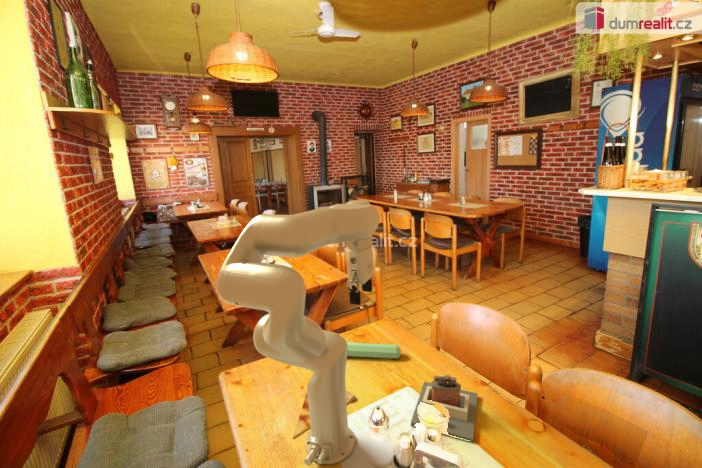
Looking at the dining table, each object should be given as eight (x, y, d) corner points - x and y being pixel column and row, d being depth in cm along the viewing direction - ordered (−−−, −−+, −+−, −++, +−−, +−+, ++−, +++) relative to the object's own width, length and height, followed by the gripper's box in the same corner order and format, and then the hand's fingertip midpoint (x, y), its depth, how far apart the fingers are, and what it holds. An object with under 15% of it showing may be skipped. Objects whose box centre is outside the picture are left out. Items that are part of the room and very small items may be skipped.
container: (401, 340, 125) (333, 336, 129) (401, 354, 120) (331, 350, 124) (400, 350, 129) (335, 346, 132) (400, 364, 124) (332, 360, 127)
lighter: (459, 404, 99) (460, 373, 97) (460, 412, 96) (461, 381, 93) (430, 401, 100) (430, 371, 98) (431, 410, 97) (431, 379, 95)
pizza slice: (266, 409, 103) (265, 403, 103) (326, 376, 117) (325, 371, 116) (293, 440, 91) (292, 433, 91) (356, 400, 105) (355, 394, 105)
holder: (472, 442, 87) (473, 429, 86) (410, 426, 94) (410, 412, 93) (477, 396, 103) (478, 384, 102) (424, 384, 110) (424, 373, 109)
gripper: (360, 252, 91) (362, 311, 95) (380, 236, 107) (382, 288, 110) (334, 250, 94) (338, 307, 98) (358, 235, 109) (360, 285, 113)
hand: (361, 297), depth 104 cm, fingers open, 9 cm apart
